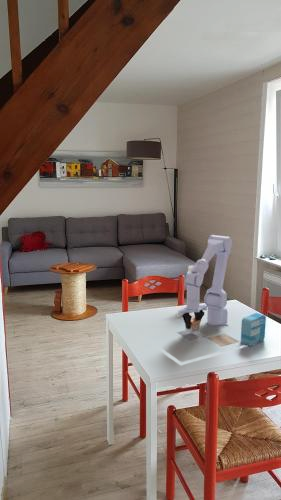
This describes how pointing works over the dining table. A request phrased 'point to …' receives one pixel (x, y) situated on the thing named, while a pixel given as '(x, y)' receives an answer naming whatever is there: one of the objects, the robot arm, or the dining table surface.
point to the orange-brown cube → (194, 325)
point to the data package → (253, 329)
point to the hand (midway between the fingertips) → (192, 327)
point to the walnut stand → (223, 339)
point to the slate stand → (192, 334)
